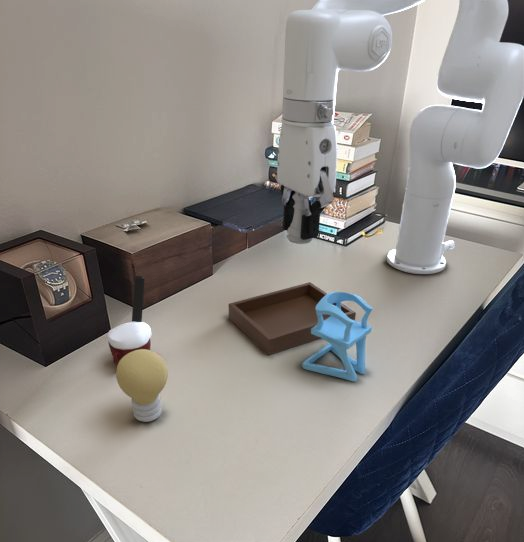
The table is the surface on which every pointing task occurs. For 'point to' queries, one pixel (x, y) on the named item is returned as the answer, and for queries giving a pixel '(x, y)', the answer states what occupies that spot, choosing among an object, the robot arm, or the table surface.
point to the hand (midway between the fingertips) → (300, 231)
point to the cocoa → (131, 328)
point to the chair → (340, 335)
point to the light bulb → (143, 382)
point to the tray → (281, 317)
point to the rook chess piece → (297, 220)
